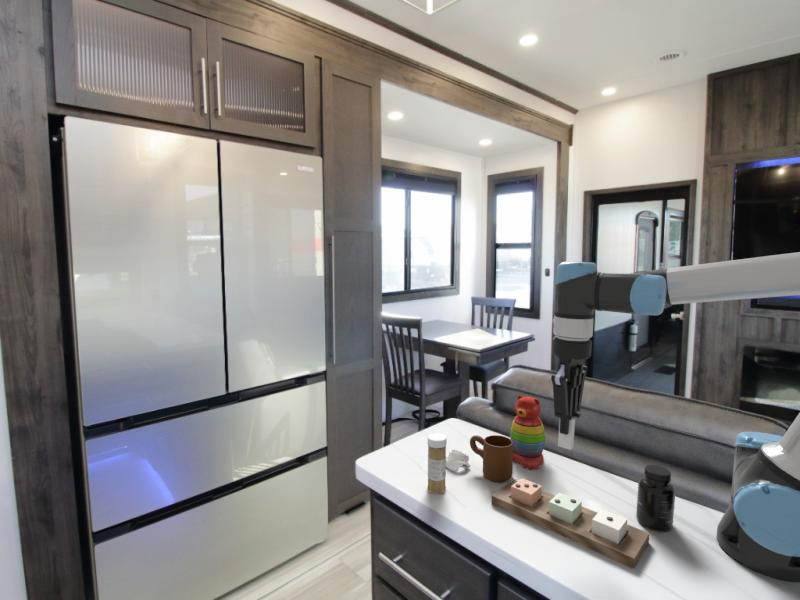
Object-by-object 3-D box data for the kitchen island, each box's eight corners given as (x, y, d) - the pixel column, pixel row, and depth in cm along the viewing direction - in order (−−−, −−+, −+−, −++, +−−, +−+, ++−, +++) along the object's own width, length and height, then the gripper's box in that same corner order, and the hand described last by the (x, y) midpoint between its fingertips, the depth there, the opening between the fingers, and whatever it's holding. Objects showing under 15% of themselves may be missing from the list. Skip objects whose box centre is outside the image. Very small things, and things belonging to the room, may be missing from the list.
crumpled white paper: (437, 467, 120) (435, 450, 119) (454, 457, 124) (452, 441, 123) (459, 476, 114) (457, 458, 113) (476, 466, 118) (474, 448, 117)
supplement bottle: (628, 517, 95) (631, 464, 94) (651, 510, 98) (654, 459, 96) (656, 536, 89) (660, 480, 88) (680, 528, 91) (684, 474, 90)
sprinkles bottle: (435, 482, 110) (435, 431, 108) (449, 489, 106) (450, 436, 105) (423, 489, 106) (423, 436, 105) (438, 496, 103) (438, 442, 102)
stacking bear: (499, 457, 123) (500, 396, 121) (520, 447, 130) (521, 389, 128) (532, 471, 115) (534, 406, 113) (553, 460, 122) (555, 398, 120)
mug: (462, 471, 115) (463, 437, 114) (476, 460, 121) (477, 428, 120) (504, 486, 108) (505, 450, 107) (517, 474, 114) (518, 439, 113)
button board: (648, 542, 87) (649, 533, 87) (633, 568, 80) (634, 558, 79) (513, 487, 107) (513, 479, 107) (491, 503, 100) (491, 495, 100)
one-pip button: (626, 533, 87) (627, 518, 87) (618, 545, 84) (619, 529, 83) (600, 522, 91) (601, 507, 90) (591, 533, 87) (592, 518, 87)
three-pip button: (541, 498, 100) (542, 485, 99) (531, 507, 96) (531, 493, 96) (521, 490, 103) (521, 477, 103) (510, 498, 100) (511, 485, 99)
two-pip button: (581, 514, 93) (581, 500, 93) (571, 524, 90) (572, 510, 90) (558, 505, 97) (559, 491, 97) (548, 514, 93) (549, 500, 93)
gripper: (567, 330, 97) (561, 432, 99) (540, 338, 87) (534, 451, 90) (602, 335, 91) (595, 442, 94) (577, 344, 82) (570, 463, 85)
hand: (565, 446), depth 92 cm, fingers closed
